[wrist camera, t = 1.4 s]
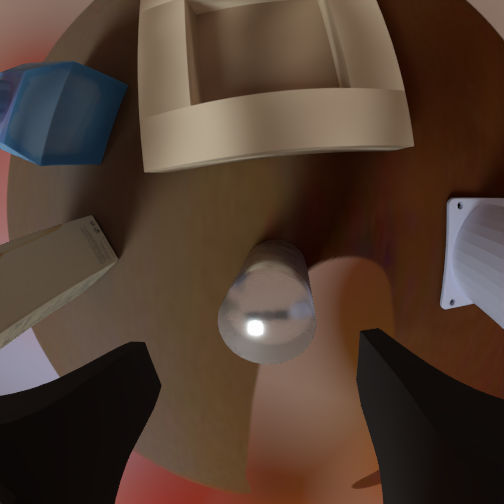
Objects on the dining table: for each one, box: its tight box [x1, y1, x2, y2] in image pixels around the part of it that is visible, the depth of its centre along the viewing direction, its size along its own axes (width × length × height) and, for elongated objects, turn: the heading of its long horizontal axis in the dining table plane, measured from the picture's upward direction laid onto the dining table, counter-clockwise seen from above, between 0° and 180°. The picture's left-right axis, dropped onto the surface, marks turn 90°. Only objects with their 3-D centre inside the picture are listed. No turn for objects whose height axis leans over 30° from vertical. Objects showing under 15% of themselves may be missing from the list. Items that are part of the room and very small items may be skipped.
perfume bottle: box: [0, 61, 128, 166], centre depth 11 cm, size 6×6×12 cm
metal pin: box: [218, 239, 316, 364], centre depth 14 cm, size 4×4×7 cm
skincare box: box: [0, 215, 118, 349], centre depth 14 cm, size 6×4×12 cm
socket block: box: [138, 0, 414, 173], centre depth 12 cm, size 14×14×4 cm
